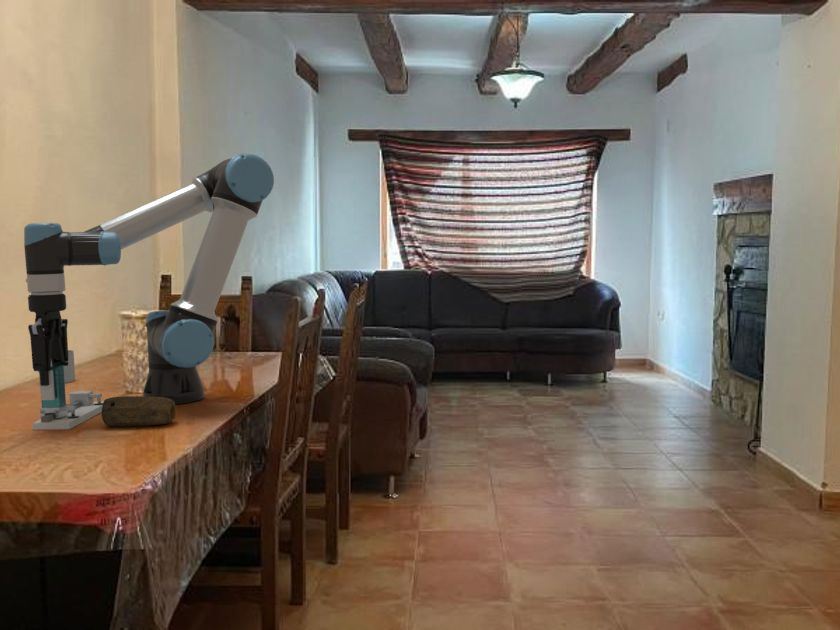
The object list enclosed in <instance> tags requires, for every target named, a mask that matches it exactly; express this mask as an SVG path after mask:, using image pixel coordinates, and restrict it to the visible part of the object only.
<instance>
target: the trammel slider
mask: <svg viewBox="0 0 840 630" xmlns="http://www.w3.org/2000/svg"><path fill="white" fill-rule="evenodd" d="M50 370H53V378H54V394H55V399H54V400H41V399H40V401H41V402H40V403H41V407H39V413H40V418H41V417H42V416H44V415H47V414H49V413H55V418H62V417H64V416H66V415H68V411H69V410H71V415H72V416H75V410H76V406H68V403H67V399H66V387H65V386H66V383H65V381H64V365H51V369H50Z"/></svg>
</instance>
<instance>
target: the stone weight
mask: <svg viewBox="0 0 840 630" xmlns="http://www.w3.org/2000/svg"><path fill="white" fill-rule="evenodd" d="M103 402H104V403H103V407H102V412H101V419H102V422H103V423H104V425H106V426H110V427H121V428H122V427H126V428H129V427H150V426H158V425H161V426H162V425H165V424H170V423H171V422H172V421H173V420H174V419H175V418H176V404H175V402H174V401H173V400H172V399H168V398H163V397H149V396H148V397H147V396H143V395H141V396H139V395H138V396H137V395H135V396H130V395H128V396H127V395H126V396H114V397H109V398H106V399H104V400H103Z"/></svg>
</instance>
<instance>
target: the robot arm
mask: <svg viewBox="0 0 840 630" xmlns="http://www.w3.org/2000/svg"><path fill="white" fill-rule="evenodd" d="M274 177H275V176H274V174H273V170H272V168H271V166H270V164H268V162H267V161H266V160H265V159H264V158H262V157H260V156H259V155H257V154H253V153H239V154H236V155H234V156H233V157H231V158H228V159H227V158H226V159H225V160H223V161H221V162H219V163H217V164H216V165H215V166H213V167H212V168H210V169H208V170H207V171H205V172H204V173H201V174H200V175H198V176H196V177H194V178H193V179H192V181H191V183H190V184H187V185H186V186H182V187H181V188H179V189H176V190H173V191H172V192H169V193H167V194H165V195H163V196H161V197H158V198H157V199H154V200H152V201H149V202H147V203H144V204H143V205H141V206H138V207H136V208H134V209H131V210H130V211H127V212H125V213H123V214H121V215H118V216H115V217H114V218H112V219H109V220H108V221H104V222H102V223H100V224H98V225H97V226H94V227H92V228H90V229H87V230H84V231H79V232H78V231H75V232H74V231H73V232H69V231H63V229H62V228H63V227H62V225H61V224H60V223H58V222H57V223H56V222H55V223H54V222H52V223H51V222H49V223H47V222H42V223H41V222H38V223H37V222H34V223H32V222H31V223H27V224H26V225H25V226H24V229H23V233H24V234H23V235H24V236H23V237H24V238H23V239H24V240H23V241H24V244H23V246H24V247H23V248H24V257H25V270H26V279H25V282H26V283H27V292H28V293H30V295H28V296H27V300H28V301H27V303H28V311H30V312H31V313H35V318H34V323H33V324H29V325H28V327H27V328H28V329H27V330H28V333H29V335H30V336H29V337H30V346H31V347H30V349H31V350H30V352H31V360H32V361H31V363H32V369H33V372H38V371H39V372H38V374H39V388H40V401H41V400H54V399H55V394H54V378H53V370H50V369H51V361H52V365H64V366H68V350H69V348H68V323H69V321H68V318H62V315H61V312H62V311H66V309H67V297H66V296H67V295H66V294H65V293H64V292H65V291H66V283H65V282H66V281H65V267H66V266H69V267H73V266H108V265H109V266H110V265H118V264H119V263H120V261H121V258H122V257H121V255H122V250H124V249H125V248H128V247H130V246H132V245H135V244H136V243H138V242H141V241H143V240H145V239H147V238H150V237H151V236H154V235H156V234H158V233H160V232H163V231H165V230H166V229H169V228H171V227H173V226H175V225H177V224H180V223H181V222H184V221H186V220H188V219H190V218H193V217H194V216H195V217H196V216H197V215H199V214H202V213H203V212H208V213H212V214H211V216H210V218H209V221H208V224H207V226H206V230H205V232H204V235H203V237H202V240H201V242H200V245H199V248H198V251H197V253H196V255H195V259H194V262H193V264H192V267H191V270H190V272H189V273H188V277H187V279H186V283H185V284H184V288H183V289H182V293H181V295H180V298H179V299H178V300H176V301H174V302H172V303H171V304H170V305H169V308H168V309H167V310H166V309H165V310H163V309H162V310H154V311H151V312H148V313H147V314H146V320H145V321H146V322H145V327H146V338H147V339H146V340H147V358H148V360H147V361H148V373H147V378H146V380H145V384H144V387H143V391H142V396H147V397H148V396H149V397H163V398H168V399H172V400H173V401H174V402H175V405H181V404H188V403H193V402H197V401H200V400H202V399H204V398H205V396H206V395H205V387H204V385H203V383H202V380H201V377H200V375H199V374H200V373H199V372H198V369H197V366H200V365H201V364H203V363H204V362H205V361H206V360H207V359H209V357H210V356H211V354H212V353H213V349H214V345H215V340H214V339H215V338H214V333H215V329H216V327H217V324H218V321H219V320H218V317H217V315H216V312H215V311H216V308H217V305H218V303H219V300H220V299H221V295H222V292H223V290H224V287H225V284H226V282H227V279H228V276H229V274H230V271H231V268H232V266H233V263H234V261H235V258H236V255H237V252H238V249H239V246H240V245H241V242H242V239H243V236H244V233H245V230H246V228H247V226H248V222H249V221H250V220H252V219H254V218H257V216H258V214H259V211H260V208H261V207H262V203H263V201H264V200H265V199H267V198H268V196H269V195H270V194H271V193H272V190H273V188H274V185H275V178H274Z"/></svg>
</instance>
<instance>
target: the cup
mask: <svg viewBox="0 0 840 630" xmlns="http://www.w3.org/2000/svg"><path fill="white" fill-rule="evenodd" d="M74 355H75V353H74V350H71V349H68V366H64V381H65V384H69V383H73V382H75V380H76V371H75V370H76V369H75V356H74ZM51 365H52V361H51ZM37 372H38V373H39V371H37Z"/></svg>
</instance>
